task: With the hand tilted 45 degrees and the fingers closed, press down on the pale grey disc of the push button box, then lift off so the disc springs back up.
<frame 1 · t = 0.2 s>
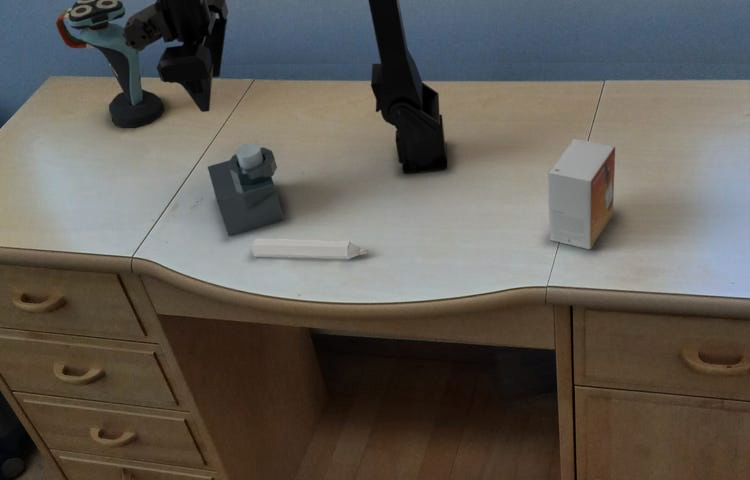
hand: (210, 93, 128), 15 cm above the table, tool pointing down, fingers open, 9 cm apart
push button box: (250, 210, 132), on the table
pale grey rod: (314, 256, 123), on the table
pale grey disc: (249, 156, 126), point 9 cm above the table, slide at 0.1 cm
electric shaver: (131, 115, 157), on the table
small box: (581, 228, 119), on the table
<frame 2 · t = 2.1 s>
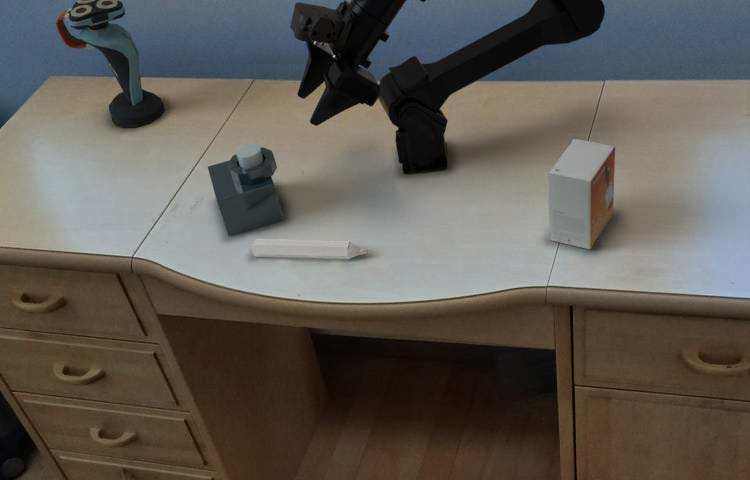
hand: (306, 110, 124), 13 cm above the table, tool tilted 45°, fingers open, 7 cm apart
nothing on the table moved.
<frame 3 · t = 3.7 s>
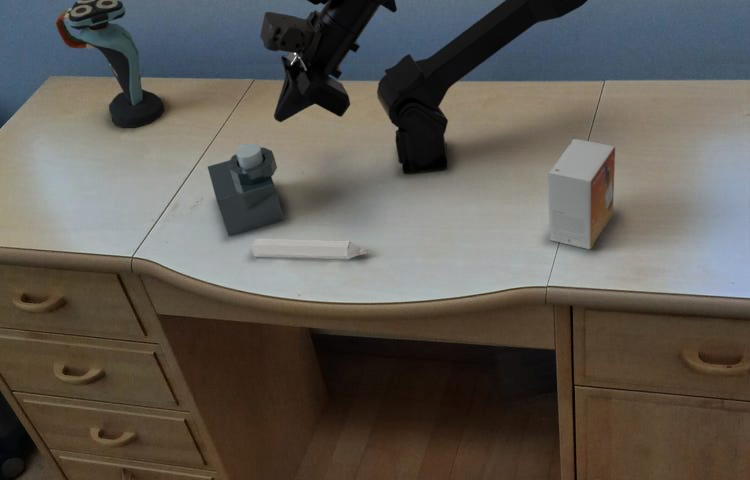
hand: (277, 119, 124), 13 cm above the table, tool tilted 45°, fingers closed
nothing on the table moved.
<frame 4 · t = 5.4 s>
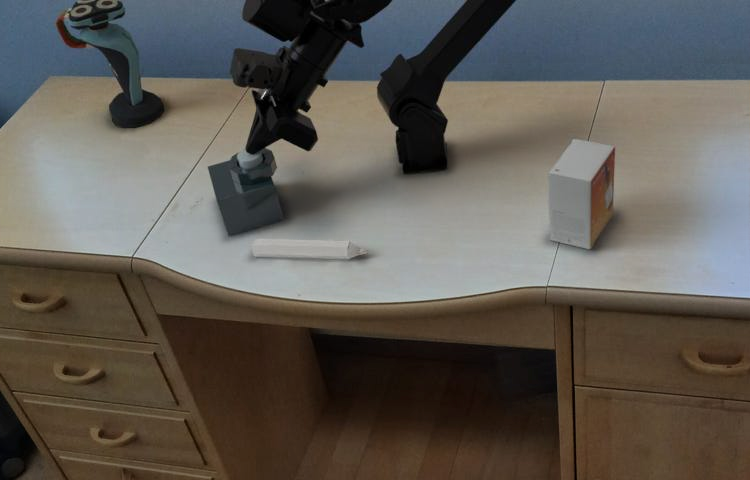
hand: (248, 152, 126), 9 cm above the table, tool tilted 45°, fingers closed, pressing on pale grey disc
pale grey disc: (250, 160, 127), point 8 cm above the table, slide at -0.5 cm, touching gripper
everything else where it was.
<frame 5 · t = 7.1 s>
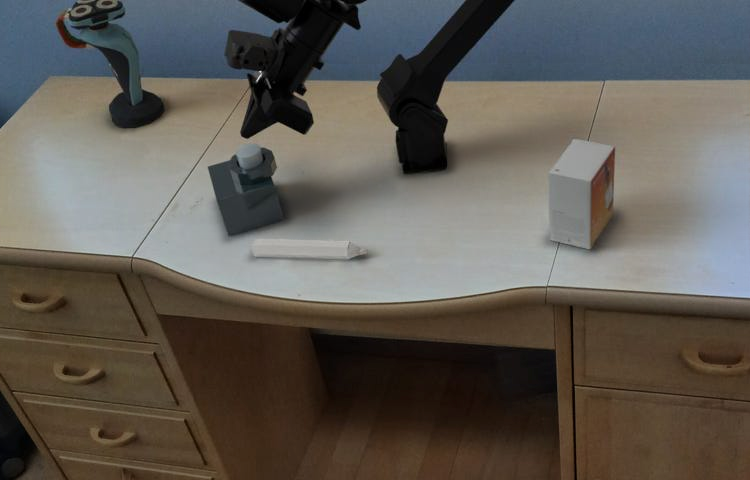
hand: (243, 136, 124), 12 cm above the table, tool tilted 45°, fingers closed
pale grey disc: (249, 156, 126), point 9 cm above the table, slide at 0.1 cm
everything else where it was.
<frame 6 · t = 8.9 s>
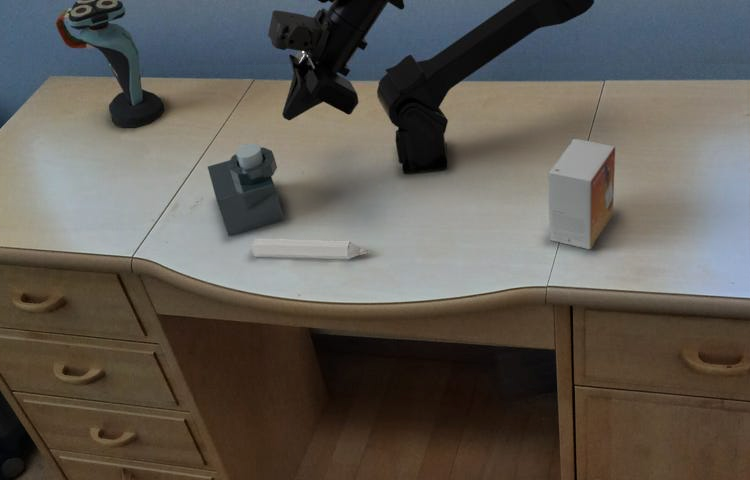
hand: (285, 117, 124), 13 cm above the table, tool tilted 45°, fingers closed
nothing on the table moved.
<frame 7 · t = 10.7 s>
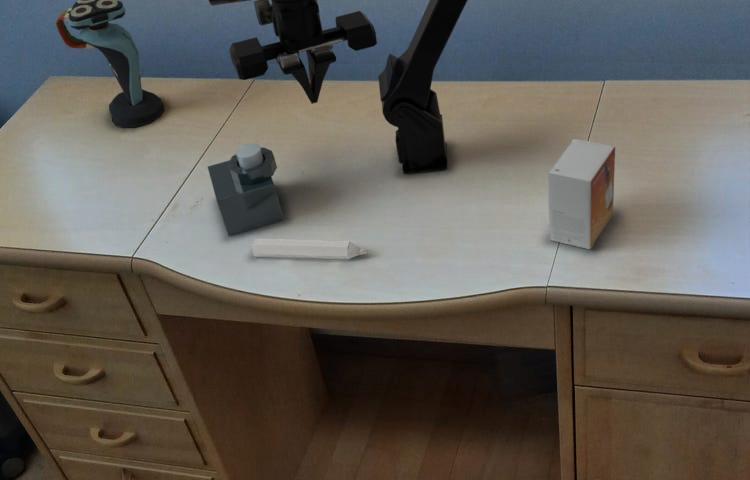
hand: (313, 101, 127), 12 cm above the table, tool pointing down, fingers closed
nothing on the table moved.
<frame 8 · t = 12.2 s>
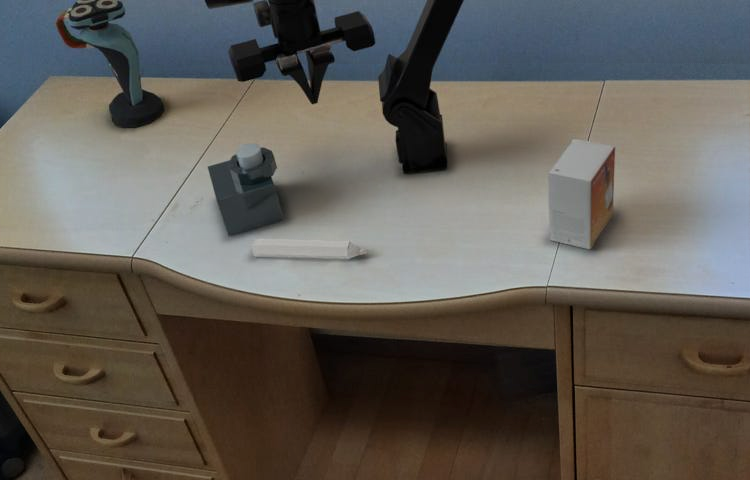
hand: (313, 102, 127), 12 cm above the table, tool pointing down, fingers closed
nothing on the table moved.
at the end: pale grey disc pushed in 1.3 cm at the most during the clip, back to where it started at the end; pale grey disc slide at 0.1 cm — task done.
